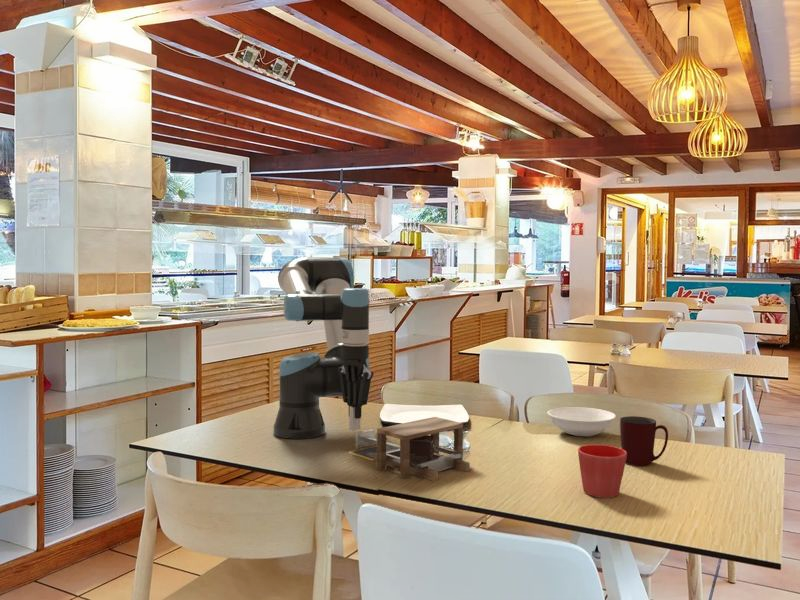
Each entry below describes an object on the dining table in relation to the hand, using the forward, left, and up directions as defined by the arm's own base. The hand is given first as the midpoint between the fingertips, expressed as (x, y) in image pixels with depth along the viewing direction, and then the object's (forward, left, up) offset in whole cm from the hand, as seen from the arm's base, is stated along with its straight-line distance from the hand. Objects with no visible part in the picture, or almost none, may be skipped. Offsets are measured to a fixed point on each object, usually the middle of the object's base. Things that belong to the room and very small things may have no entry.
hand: (354, 429), depth 209 cm
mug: (+62, +45, -5) cm, 77 cm away
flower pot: (+68, +16, -5) cm, 70 cm away
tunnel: (+26, 0, -5) cm, 26 cm away
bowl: (+34, +59, -5) cm, 68 cm away
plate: (-11, +38, -5) cm, 40 cm away
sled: (+18, 0, -4) cm, 19 cm away
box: (+26, 0, -5) cm, 26 cm away
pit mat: (+9, 0, -5) cm, 10 cm away
